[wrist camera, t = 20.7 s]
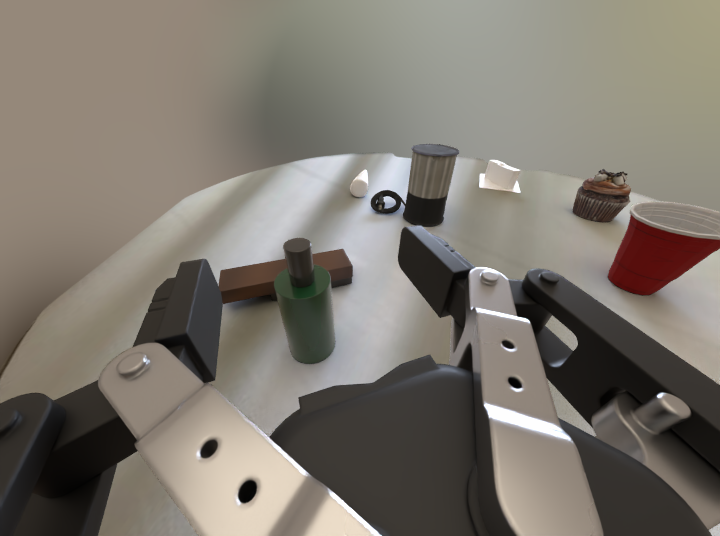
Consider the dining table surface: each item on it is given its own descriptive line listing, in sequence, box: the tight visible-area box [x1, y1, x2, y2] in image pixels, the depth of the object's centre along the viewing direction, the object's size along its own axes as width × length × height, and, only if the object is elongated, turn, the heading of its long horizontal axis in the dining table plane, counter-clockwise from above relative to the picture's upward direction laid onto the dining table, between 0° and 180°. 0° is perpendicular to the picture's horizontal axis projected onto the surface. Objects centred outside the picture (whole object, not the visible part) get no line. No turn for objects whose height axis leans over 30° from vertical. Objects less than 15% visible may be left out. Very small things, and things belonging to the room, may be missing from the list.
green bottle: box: [274, 238, 335, 364], centre depth 26 cm, size 5×5×14 cm
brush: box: [219, 249, 353, 304], centre depth 38 cm, size 18×5×4 cm, turn 110°
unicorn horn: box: [350, 170, 368, 197], centre depth 76 cm, size 5×24×5 cm, turn 171°
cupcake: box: [573, 169, 631, 222], centre depth 59 cm, size 10×10×10 cm
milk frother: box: [371, 144, 459, 226], centre depth 56 cm, size 14×16×15 cm
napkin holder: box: [479, 160, 521, 193], centre depth 78 cm, size 15×11×6 cm
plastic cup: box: [608, 201, 720, 295], centre depth 37 cm, size 11×11×12 cm
